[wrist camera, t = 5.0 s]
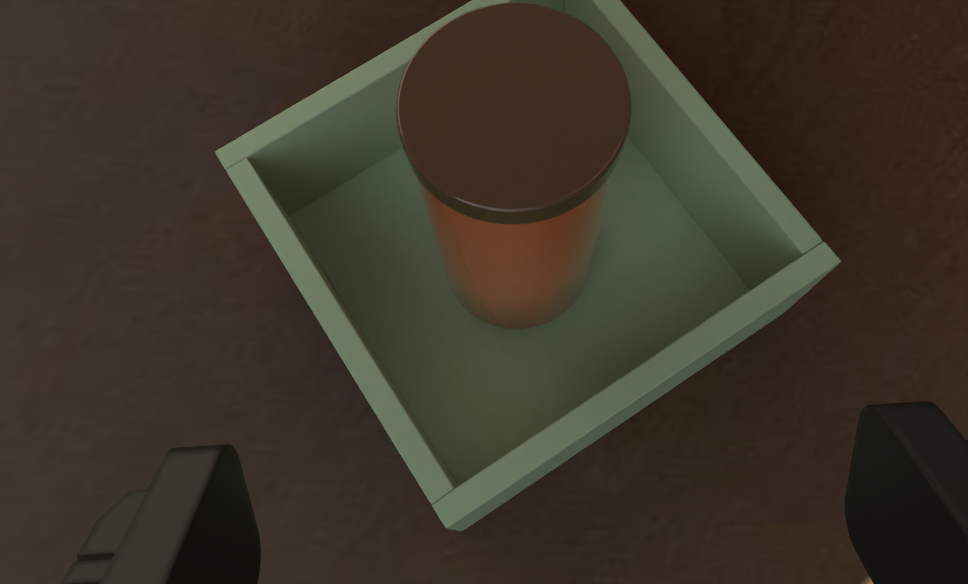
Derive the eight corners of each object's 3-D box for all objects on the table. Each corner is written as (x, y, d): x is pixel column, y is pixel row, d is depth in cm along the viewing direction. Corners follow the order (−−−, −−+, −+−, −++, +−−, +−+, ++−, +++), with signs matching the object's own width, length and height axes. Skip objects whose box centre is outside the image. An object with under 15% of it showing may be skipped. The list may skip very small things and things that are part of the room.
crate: (784, 312, 27) (842, 260, 22) (461, 532, 25) (446, 529, 20) (563, 38, 30) (571, -59, 25) (266, 218, 29) (213, 151, 24)
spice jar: (624, 277, 27) (680, 128, 17) (495, 362, 26) (477, 256, 17) (537, 160, 28) (543, -38, 19) (411, 238, 28) (352, 76, 18)
